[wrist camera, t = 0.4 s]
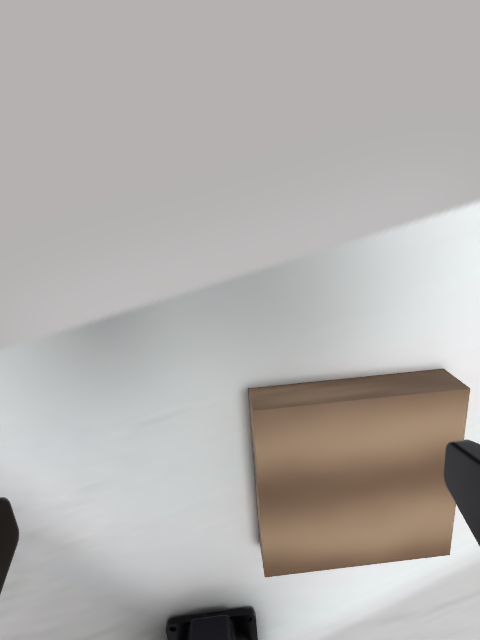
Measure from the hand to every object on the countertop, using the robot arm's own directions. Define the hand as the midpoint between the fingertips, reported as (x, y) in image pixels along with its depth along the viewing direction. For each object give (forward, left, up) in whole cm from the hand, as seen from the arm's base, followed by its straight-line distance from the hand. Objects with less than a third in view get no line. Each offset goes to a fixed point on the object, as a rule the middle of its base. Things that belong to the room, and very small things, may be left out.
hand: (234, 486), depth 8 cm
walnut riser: (-11, -7, -15) cm, 20 cm away
